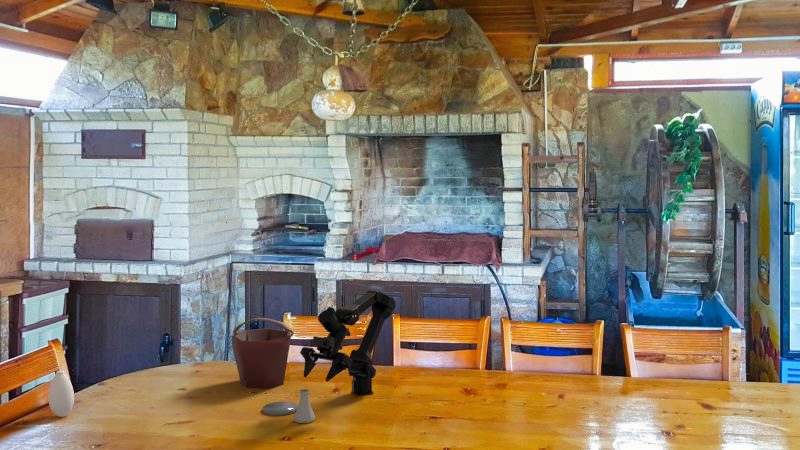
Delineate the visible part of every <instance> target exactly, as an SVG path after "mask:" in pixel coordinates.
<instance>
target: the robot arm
mask: <svg viewBox="0 0 800 450" xmlns="http://www.w3.org/2000/svg"><path fill="white" fill-rule="evenodd" d="M370 307H371V313H372V315H371V318H370V320H369V323H368V325H367V328H366V331H365V332H364V335H363V337H362V339H361V341H360V345H359V347H358V349H352V350H351V352H350V355H348V353H346V352H341V351H342V350H343V346H342V345H343V343H344V340H345V338H346V337H351V332H350V328H349V327H347V326H351V327H353V326H355V324H357V322H358V321H359V320H360V316H361V315H362V314H363V313H364V312H365V311H367V310H368V309H369V308H370ZM396 307H397V303H396V300H395V299H394V297H392V296H388V295H387V294H384V293H383V292H381V291H380V290H372V289H369V290H367V291H366V293H365V294H363V295H362V296H360V297H359V298H357V299H356V300H355V301H354V302H353V303H351V304H349V305H343V306H341V307H338V308H337V309H336V310H335V308H334V307H330V306H328V307H327V308H326V309H325V310H323V311H321V312H320V313H319V314H318V316H317V320H318V322H319V323H320V325H321V326H322V327H323V329H325V332H328V335H327V336H324V337H323V336H316V335H314V336H313V338H312V342H311V346H312V347H310V346H303V347H302V348H301V350H300V351H299V353H300V355H301V356H302V358H303V359H304V369H303V370H304V371H303V377H304V378H305V379H306V378H308V376H309V375H310V374H311V371H312V370H313V369H314V368H315V366H316V364H317V361H318V360H319V359H320V360H325V361H330V362H331V366H330V368H329V370H328V372H327V374H326V377H325V378H324V379H325V380H324V381H326V382H329V381H330V380H332V379H333V378H335V376H337V375H338V374H339V373H342V372H343V371H346V370H347V371H348V372H347V373H348V375H349V377H352V380H351V392H353V394H354V395H356V397H358V396H366V395H372V394H374V391H373V381H372V379H374V378H375V377H376V374H377V373H376V372H377V369H376V368H375V367H374V366H373V356H372V352H373V350H374V347H375V345H376V343H377V340H378V338H379V335H380V333H381V330H382V328H383V325H384V323H385V321H386V320H387V319H389V317H391V316H392V315H393V313H394V310H395V309H396ZM313 347H316V350H317V351H315V349H314V348H313ZM318 351H319V352H318Z"/></svg>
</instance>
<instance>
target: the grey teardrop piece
mask: <svg viewBox="0 0 800 450" xmlns="http://www.w3.org/2000/svg"><path fill="white" fill-rule="evenodd" d="M58 367H59V368H58V370H57V371H56V372H55V375H54V376H53V379H52V380H51V383H50V386H49V390H48V404H49V408H50V409H51V412H52V413H53V414H54V415H55V416H56V417H59V418H64V417H66V416H68V415H69V413H70V412H71V411H72V409H73V407H74V403H75V392H74V388H73V385H72V382H71V380H70V378H69V377H68V374H65V373H66V372H65V370H62V368H61V367H62V365H61V363H59V366H58Z"/></svg>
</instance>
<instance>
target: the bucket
mask: <svg viewBox="0 0 800 450" xmlns="http://www.w3.org/2000/svg"><path fill="white" fill-rule="evenodd" d="M256 321H260V322H266V323H269V324H274V325H277V326H279V327H280V328H282V329H278V328H272V327H271V328H258V329H257V328H256V329H246V330H242V331H241V332H239V330H240V329H241V328H242V327H243V326H244V325H246V324H247V323H251V322H256ZM232 334H233V335H231V347H232V351H233V355H234V359H235V364H236V369H237V374H238V377H239V382H240V384H241V385H242V386H244V387H245V388H247V389H258V388H259V390H260V389H264V390H267V389H271V388H275V387H279V386H283V385H284V383H285V377H286V373H287V372H286V370H287V364H288V363H287V362H288V357H289V352H290V345H291V340H292V336H293V335H294V330H293V328H291V327H290V326H288V325H287V324H286V323H284V322H283V321H279V320H275V319H273V318H272V319H271V318H269V317H268V318H267V317H254V318H251V319H249V320H246V321H244V322H242V323H240V324H238V325H237V326H236V327H235V328H234V329H233V330H232Z"/></svg>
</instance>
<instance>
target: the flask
mask: <svg viewBox="0 0 800 450" xmlns="http://www.w3.org/2000/svg"><path fill="white" fill-rule="evenodd" d="M309 392H310V390H309V389H307V388H301V389H299V394H300V397H299V403H298V404H297V405H298V409H297V412H295V415H294V418H293V422H295V423H300V424H309V423H310V424H311V423H312V422H314V421H316V415H315V413H314V410H313V408H312V406H311V402H310V399H309Z"/></svg>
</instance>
